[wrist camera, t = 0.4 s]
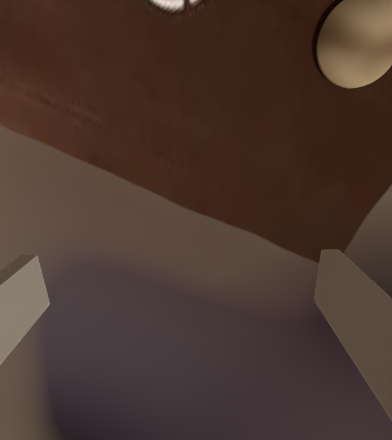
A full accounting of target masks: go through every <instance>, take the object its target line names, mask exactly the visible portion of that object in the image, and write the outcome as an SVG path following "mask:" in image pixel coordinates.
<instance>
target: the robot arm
mask: <svg viewBox="0 0 392 440" xmlns="http://www.w3.org/2000/svg"><path fill="white" fill-rule="evenodd" d="M314 301H315V303H316V304H317V306H318V307H319V309H320V311H321V312H322V314H323V315H324V317H325V318H326V320H327V321H328V323H329V325H330V326H331V328H332V329H333V331H334V332H335V334H336V335H337V337H338V338H339V340H340V341H341V343H342V345H343V346H344V348H345V349H346V351H347V352H348V354H349V356H350V357H351V359H352V360H353V362H354V363H355V365H356V366H357V368H358V370H359V371H360V373H361V374H362V376H363V377H364V379H365V380H366V382H367V383H368V385H369V387H370V388H371V390H372V391H373V393H374V394H375V396H376V398H377V399H378V401H379V402H380V404H381V405H382V407H383V408H384V410H385V412H386V413H387V415H388V416H389V418H390V419H391V421H392V298H391V297H390V296H388V295H387V294H386V293H385V292H384V291H383V290H382V289H381V288H380V287H379V286H378V285H377V284H376V283H375V282H373V281H372V280H371V279H370V278H369V277H368V276H367V275H366V274H365V273H364V272H362V271H361V270H360V269H359V268H358V267H357V266H356V265H355V264H354V263H353V262H352V261H350V260H349V259H348V258H347V257H346V256H345V255H344V254H343V253H342V252H341V251H340V250H338V249H337V250H321V256H320V263H319V270H318V276H317V284H316V290H315V297H314ZM49 305H50V302H49V299H48V295H47V291H46V287H45V283H44V280H43V276H42V271H41V268H40V264H39V260H38V256H37V255H22V256H20V257H18V258H17V259H16V260H14V261H13V262H12V263H10V264H9V265H8V266H6V267H5V268H4V269H3V270H1V271H0V365H1V363H2V362H3V361H4V360H5V359H6V357H7V356H8V355H9V354H10V352H11V351H12V350H13V349H14V348H15V346H16V345H17V344H18V343H19V341H20V340H21V339H22V338H23V337H24V335H25V334H26V333H27V332H28V331H29V329H30V328H31V327H32V326H33V324H34V323H35V322H36V321H37V320H38V318H39V317H40V316H41V314H42V313H43V312H44V311H45V310H46V309H47V307H48V306H49Z"/></svg>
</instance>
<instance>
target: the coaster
mask: <svg viewBox="0 0 392 440" xmlns="http://www.w3.org/2000/svg"><path fill="white" fill-rule="evenodd" d="M316 55H317V61H318V65H319V68H320V70H321V72H322V74H323V75H324V76H325V78H326V79H327V80H328V81H330V82H331V83H332V84H334V85H336V86H339V87H342V88H357V87H361V86H365V85H368V84H370V83H372V82H374V81H375V80H377V79H378V78H380V77H381V76H382V75H383V74H384V73H385V72H386V71H387V70H388V69H389V68H390V66H391V65H392V0H343V1H342V2H341V3H339V4H338V5H337V6H336V7H335V8H334V9H333V10H332V11H331V12H330V14H329V15H328V16H327V18H326V19H325V21H324V23H323V25H322V27H321V29H320V32H319V35H318V39H317V45H316Z"/></svg>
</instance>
